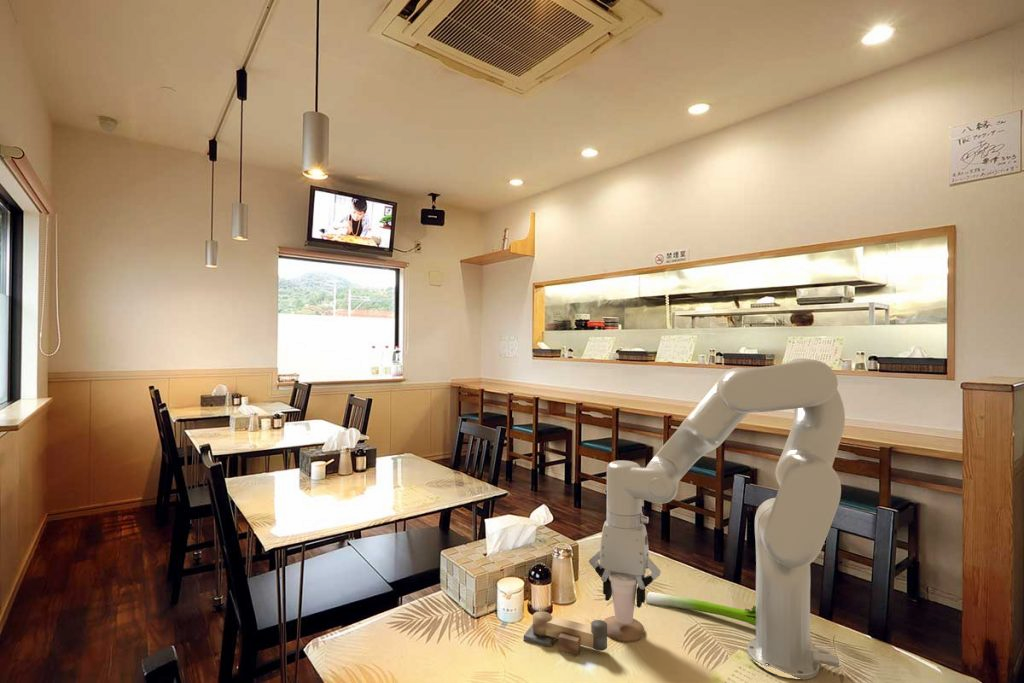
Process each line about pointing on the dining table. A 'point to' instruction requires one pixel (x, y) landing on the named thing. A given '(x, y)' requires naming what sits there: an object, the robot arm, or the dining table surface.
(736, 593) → the dining table surface
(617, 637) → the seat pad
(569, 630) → the leg
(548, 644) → the pivot plate
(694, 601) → the leek
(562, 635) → the block
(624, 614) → the smoothie
